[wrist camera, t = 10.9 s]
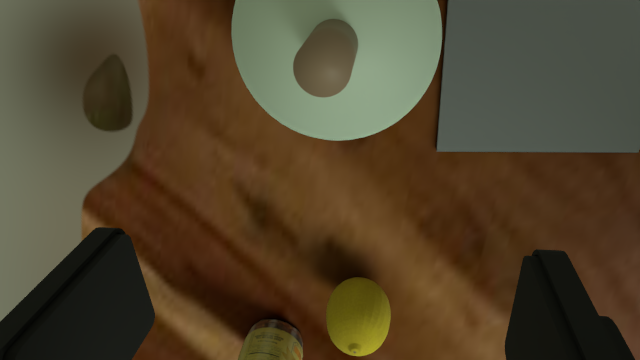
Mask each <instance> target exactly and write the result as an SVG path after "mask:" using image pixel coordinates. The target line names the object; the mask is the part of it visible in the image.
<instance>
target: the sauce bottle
mask: <svg viewBox="0 0 640 360" xmlns="http://www.w3.org/2000/svg"><path fill="white" fill-rule="evenodd" d="M302 349H303V343H302V338H301V335H300V332H299V331H298V330H297V329H296V328H294V327H293V326H291V325H290V324H288V323H287V322H283V321H281V320H276V319H266V320H261V321H259V322H257V323H256V324H255V325H254V326H253V327H252V328H251V329H250V331H249V332H248V335H247V337H246V338H245V341H244V344H243V346H242V349H241V352H240V355H239V357H238V360H302V357H303V351H302Z"/></svg>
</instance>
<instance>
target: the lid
mask: <svg viewBox="0 0 640 360" xmlns="http://www.w3.org/2000/svg"><path fill="white" fill-rule="evenodd" d="M232 44H233V51H234V55H235V60H236V63H237V66H238V69H239V72H240V75H241V77H242V79H243V81H244V83H245V85H246V87H247V88H248V90H249V91H250V93H251V94H252V96H253V97H254V98H255V100H256V101H257V102H258V103H259V104H260V106H261V107H262V108H263V109H264V110H265V111H266V112H268V113H269V114H270V115H271V116H272V117H273V118H275V119H276V120H277V121H279V122H280V123H281V124H283V125H285V126H287V127H288V128H290V129H292V130H294V131H297V132H299V133H301V134H304V135H307V136H310V137H314V138H319V139H325V140H352V139H357V138H362V137H366V136H369V135H372V134H375V133H377V132H380V131H382V130H384V129H386V128H388V127H389V126H391V125H393V124H394V123H396V122H397V121H399V120H400V119H401V118H402V117H404V116H405V115H406V114H407V113H408V112H409V111H410V110H411V109H412V108H413V107H414V106H415V105H416V104H417V103H418V101H419V100H420V99H421V97H422V96H423V95H424V93H425V91H426V90H427V88H428V86H429V84H430V83H431V81H432V78H433V76H434V73H435V71H436V68H437V65H438V61H439V57H440V52H441V44H442V22H441V14H440V9H439V5H438V2H437V0H236V1H235V5H234V10H233V17H232Z"/></svg>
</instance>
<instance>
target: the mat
mask: <svg viewBox="0 0 640 360" xmlns="http://www.w3.org/2000/svg"><path fill="white" fill-rule="evenodd" d="M639 149H640V0H448V4H447V17H446V30H445V43H444V56H443V69H442V82H441V95H440V108H439V121H438V135H437V148H436V150H437V151H446V152H621V153H638V152H639Z"/></svg>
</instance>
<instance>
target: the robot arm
mask: <svg viewBox="0 0 640 360" xmlns="http://www.w3.org/2000/svg"><path fill="white" fill-rule="evenodd" d="M154 318H155V313H154V309H153V306H152V303H151V299H150V296H149V293H148V290H147V287H146V284H145V281H144V278H143V275H142V272H141V268H140V265H139V262H138V259H137V256H136V253H135V250H134V247H133V244H132V240H131V238H130V237H129V236H128V235H126V234H125V232H124V231H123V230H122V229H119V228H101V227H99V228H96V229H94V230H93V231H92V232H91V233H90V234H89V235H88V236H87V237H86V238H85V239H84V240H83V241H82V242H81V243H80V244H79V245H78V246H77V247H76V248H75V249H74V250H73V251H72V252H71V253H70V254H69V255H68V256H66V258H64V259H63V261H62V262H60V264H58V265H57V266H56V267H55V268H54V269H53V270H52V271H51V272H50V273H49V274H48V275H47V276H46V277H45V278H44V279H43V280H42V281H41V282H40V283H39V284H38V285H37V286H36V287H35V288H34V289H33V290H32V291H31V292H30V293H29V294H28V295H27V296H26V297H25V298H24V299H23V300H22V301H21V302H20V303H19V304H18V305H17V306H16V307H15V308H14V309H13V310H12V311H11V312H10V313H9V314H8V315H7V316H6V317H5V318H4V319H3V320H2V321H1V322H0V360H132V358H133V356H134V355H135V353H136V352H137V350H138V348H139V347H140V345H141V344H142V342H143V340H144V339H145V337H146V335H147V334H148V332H149V331H150V329H151V327H152V325H153V323H154ZM505 354H506V360H635V358H634V357H633V355H632V353H631V351H630V349H629V348H628V346H627V344H626V342H625V340H624V338H623V337H622V335H621V333H620V331H619V329H618V328H617V326H616V324H615V323H614V322H613V320H612V319H610V318H609V317H606V316H599V315H598V313H597V311H596V309H595V307H594V306H593V304H592V302H591V300H590V298H589V296H588V294H587V292H586V290H585V288H584V286H583V284H582V282H581V280H580V278H579V277H578V275H577V273H576V271H575V269H574V267H573V265H572V263H571V261H570V259H569V257H568V255H567V254H566V253H565V252H564V251H555V250H534V252H533V254H532V256H525V257H524V258H523V262H522V266H521V271H520V276H519V280H518V285H517V289H516V294H515V299H514V303H513V308H512V313H511V317H510V322H509V326H508V331H507V336H506V340H505Z"/></svg>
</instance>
